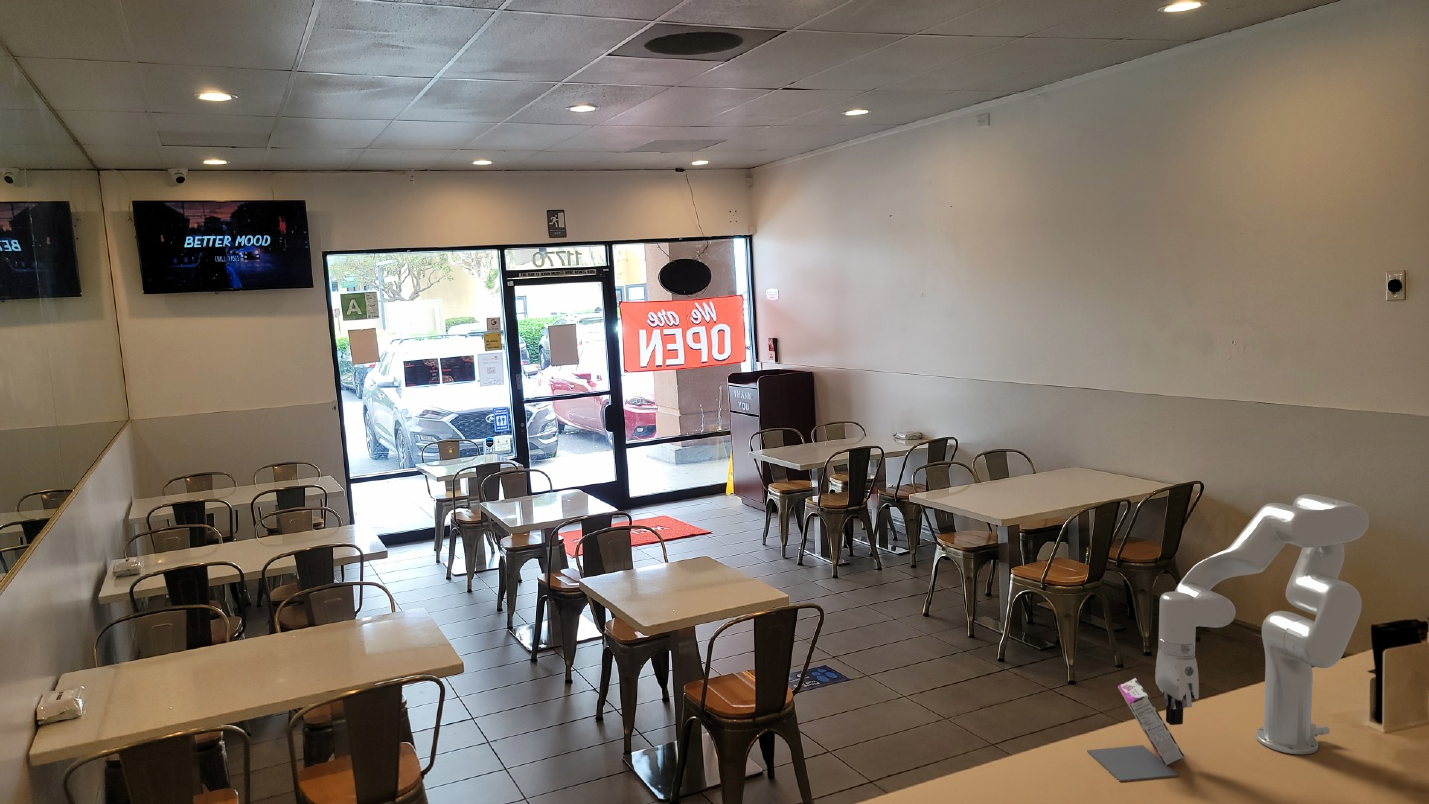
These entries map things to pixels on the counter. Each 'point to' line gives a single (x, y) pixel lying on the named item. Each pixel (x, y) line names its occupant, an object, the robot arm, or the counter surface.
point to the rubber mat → (1132, 763)
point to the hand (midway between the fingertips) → (1174, 723)
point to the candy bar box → (1151, 721)
